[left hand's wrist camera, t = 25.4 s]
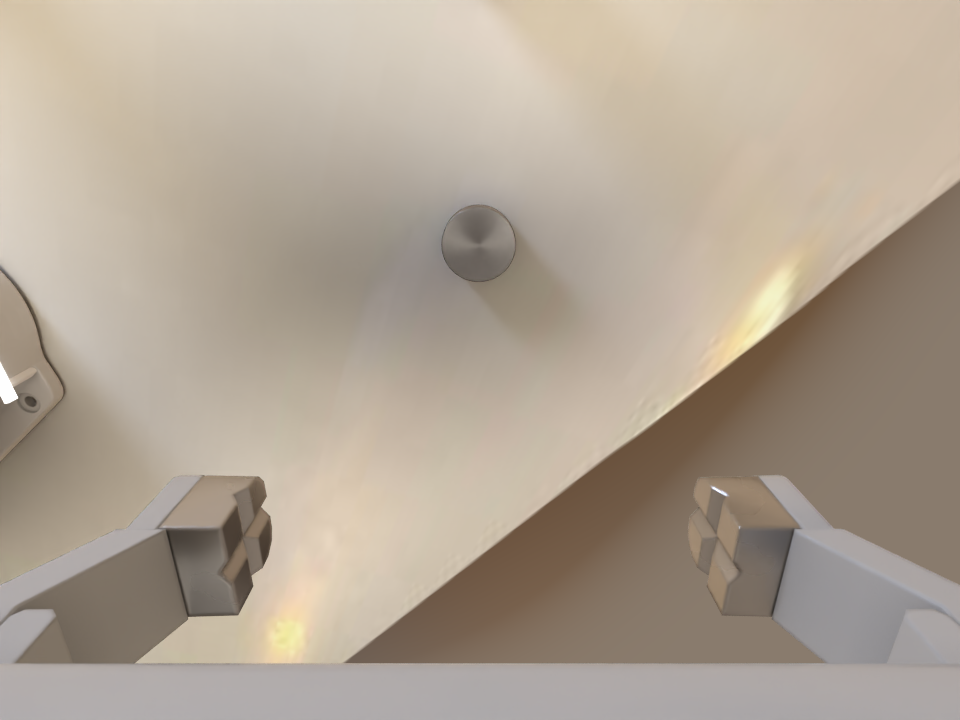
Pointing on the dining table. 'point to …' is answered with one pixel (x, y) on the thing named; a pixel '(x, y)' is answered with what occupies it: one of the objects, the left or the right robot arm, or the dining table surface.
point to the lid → (478, 243)
